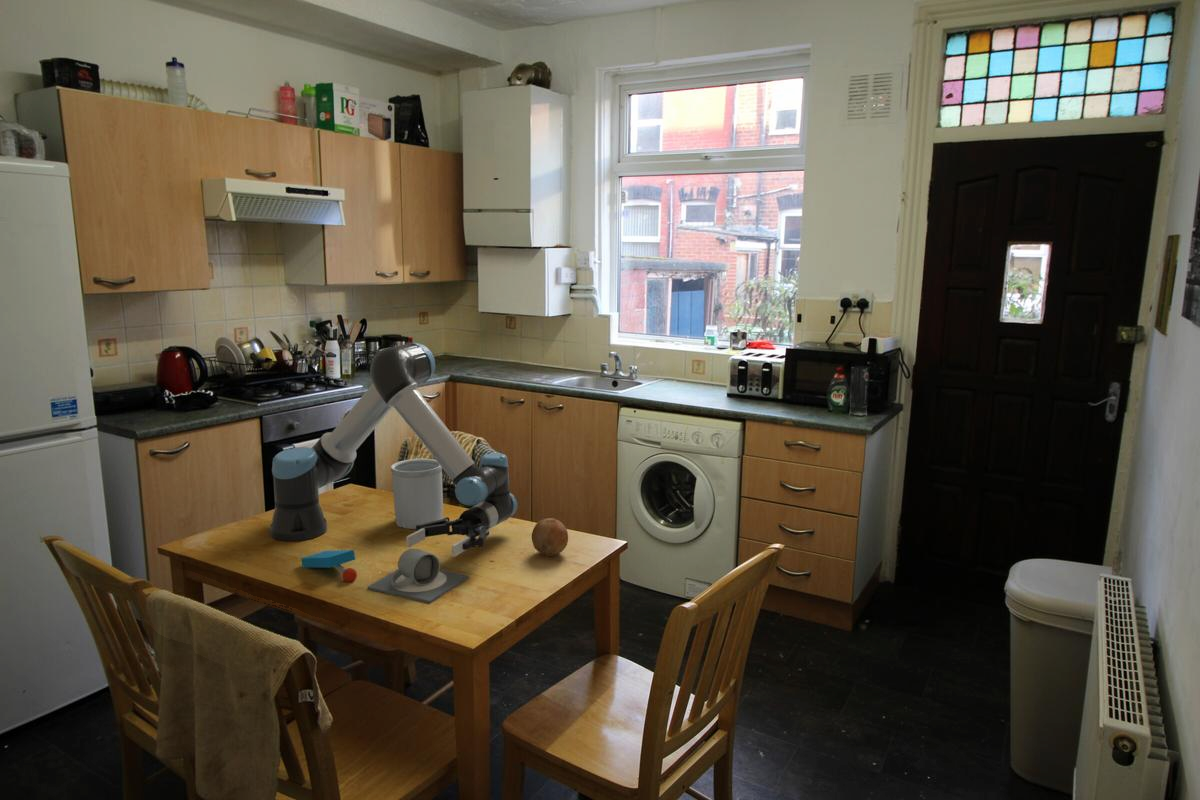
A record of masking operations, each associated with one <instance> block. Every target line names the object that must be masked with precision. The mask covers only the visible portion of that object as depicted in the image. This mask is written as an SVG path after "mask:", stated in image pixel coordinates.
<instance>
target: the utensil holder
mask: <svg viewBox="0 0 1200 800" xmlns="http://www.w3.org/2000/svg"><path fill="white" fill-rule="evenodd" d="M442 471H443V468H442V467H441V466H440V464H439V463H438V462H437V461H436V459H435V458H433V459H432V458H411V459H410V458H409V459H405V460H401V461H398V462H395V463H393V464H392V465H391V466H390V472H391V476H392V477H391V478H392V491H393V492H392V493H393V507H394V518H395V524H396V526H397V527H399V528H402V527H403V528H402V529H407V530H416V525H420V524H424V523H429V522H433V521H437V520H441V519H444V496H443V472H442Z"/></svg>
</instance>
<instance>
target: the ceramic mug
mask: <svg viewBox="0 0 1200 800" xmlns="http://www.w3.org/2000/svg"><path fill="white" fill-rule="evenodd" d="M397 567H398V569H399V570H398V569H397V570H398V571H397V572H396V573H395V574H394V575H393V576H392V578H391V583H392V584H393V586H394V587H395V588H403V587H405V586H407V585H409V584H411V583H412V582H414V583H416V584H418V585H421V586H424V585H428V584H430V583H432V582H433V581H434V580H435V579H436V577H437V576H438V573H439V570H440V568H441V563H440V560H439V558H438V557H437V555H436V554H433V553H431V552H429V551H425V550H422V549H419V548H409V549H406V550H405V551H403V552H402V554H400V557H399V559H398V562H397ZM401 575H403V576H404V577H406V578H407V579H405V580H404V581H402V582H399V583H396V582H395V581H396V580H397V579H398V578H399V577H400V576H401Z"/></svg>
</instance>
